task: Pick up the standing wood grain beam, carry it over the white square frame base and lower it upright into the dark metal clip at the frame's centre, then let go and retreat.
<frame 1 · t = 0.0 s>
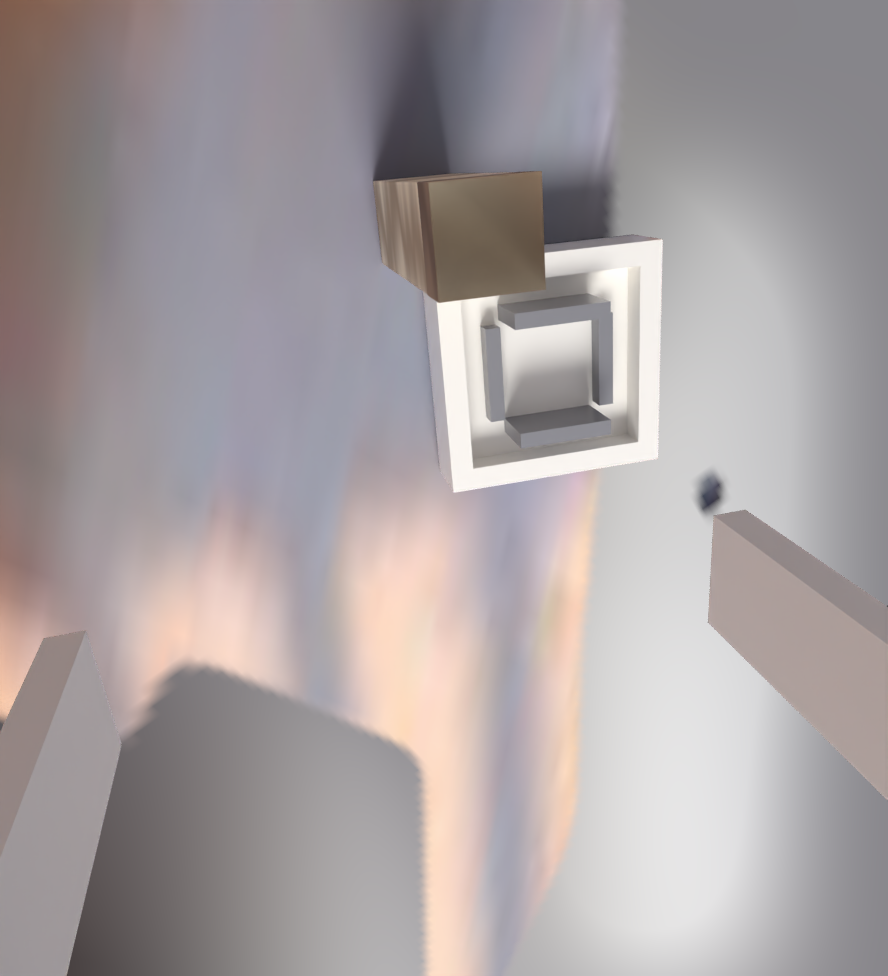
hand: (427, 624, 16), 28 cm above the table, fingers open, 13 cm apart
white square frame: (533, 356, 44), on the table
wood grain beam: (415, 218, 40), on the table
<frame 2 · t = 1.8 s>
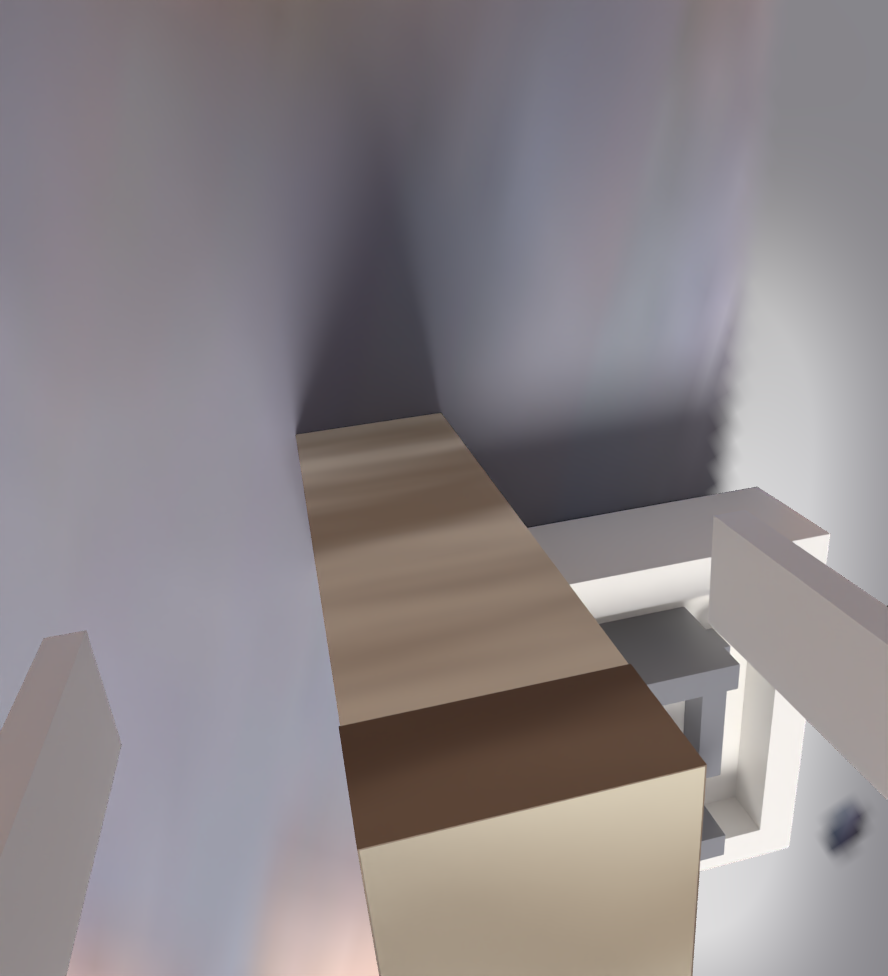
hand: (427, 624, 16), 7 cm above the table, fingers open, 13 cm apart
white square frame: (581, 678, 26), on the table
wood grain beam: (378, 490, 22), on the table
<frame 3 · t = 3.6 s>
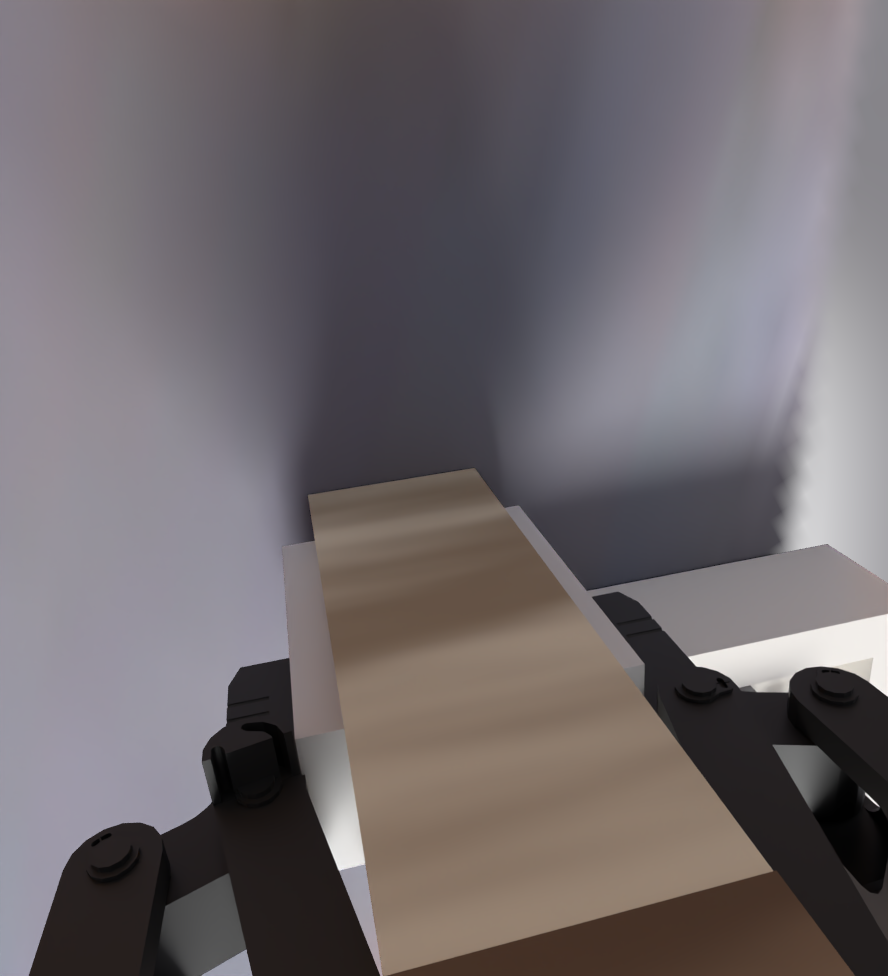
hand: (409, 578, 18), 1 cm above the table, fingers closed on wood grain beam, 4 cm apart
white square frame: (627, 757, 23), on the table
wood grain beam: (401, 556, 19), on the table, touching gripper
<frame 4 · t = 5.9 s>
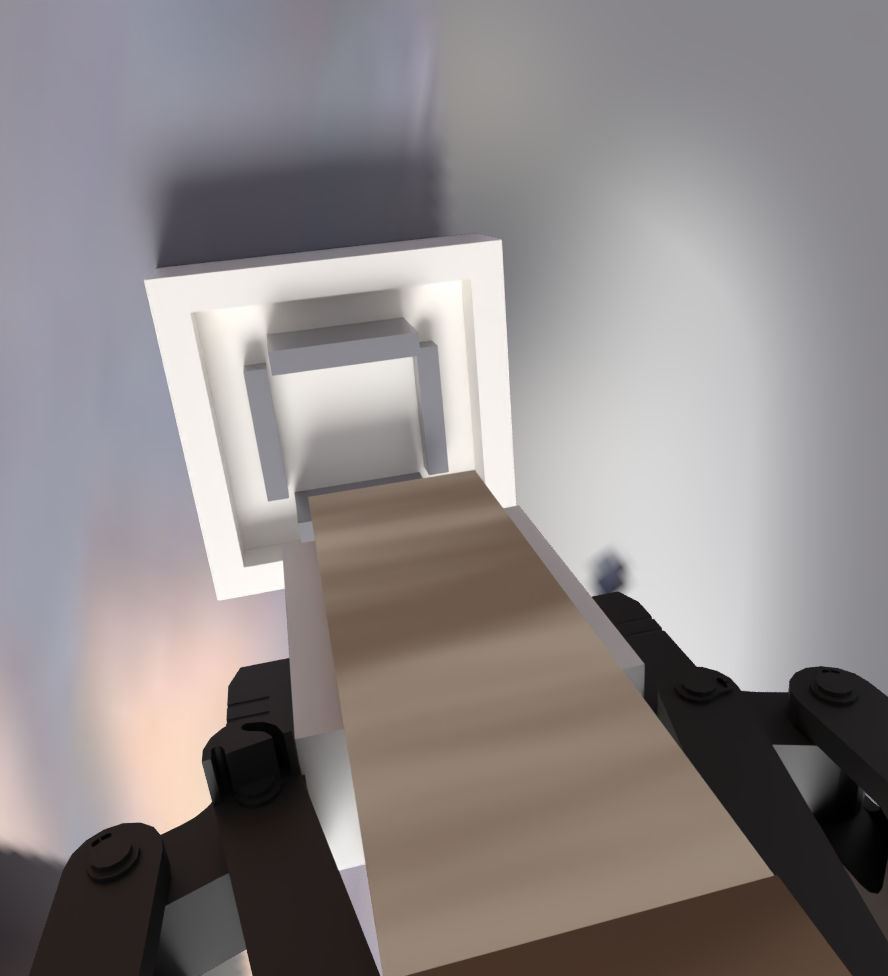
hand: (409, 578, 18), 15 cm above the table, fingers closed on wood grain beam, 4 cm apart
white square frame: (343, 403, 32), on the table
wood grain beam: (401, 557, 19), point 14 cm above the table, touching gripper
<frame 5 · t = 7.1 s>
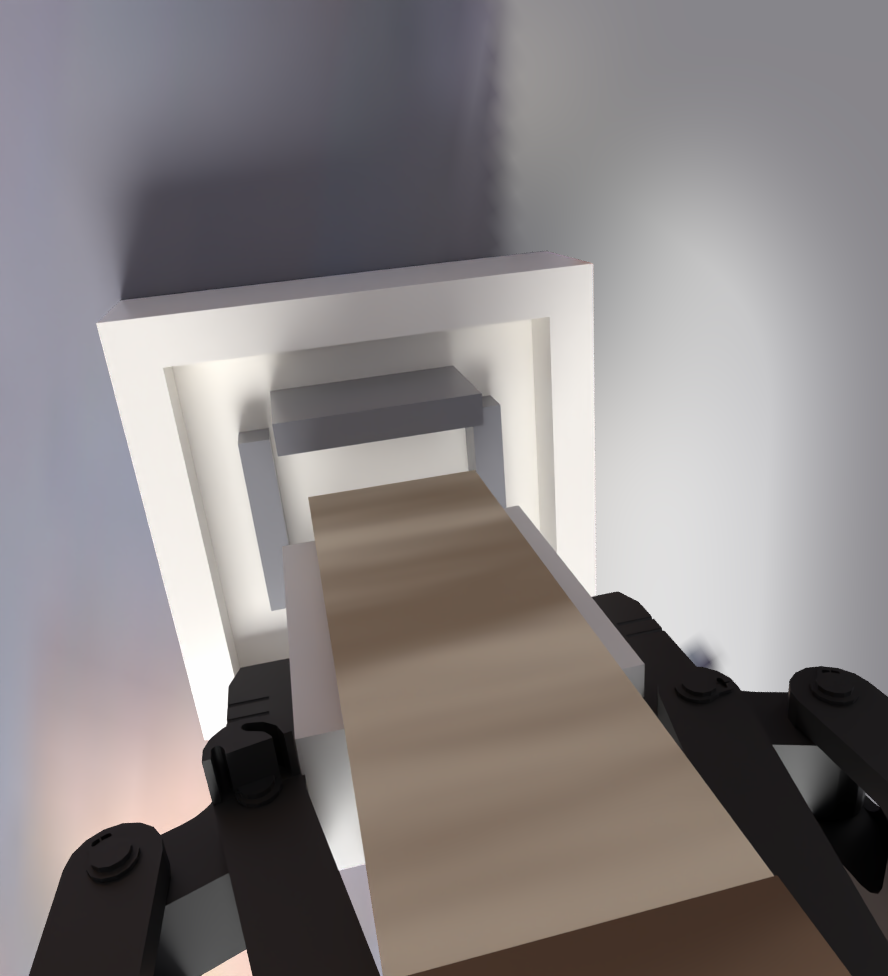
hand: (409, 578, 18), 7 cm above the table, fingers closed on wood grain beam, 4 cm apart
white square frame: (369, 471, 24), on the table
wood grain beam: (401, 558, 19), point 6 cm above the table, touching gripper
when the fingers open (5 cm above the table, at t = 8.2 s): wood grain beam drops 1 cm, resting on white square frame.
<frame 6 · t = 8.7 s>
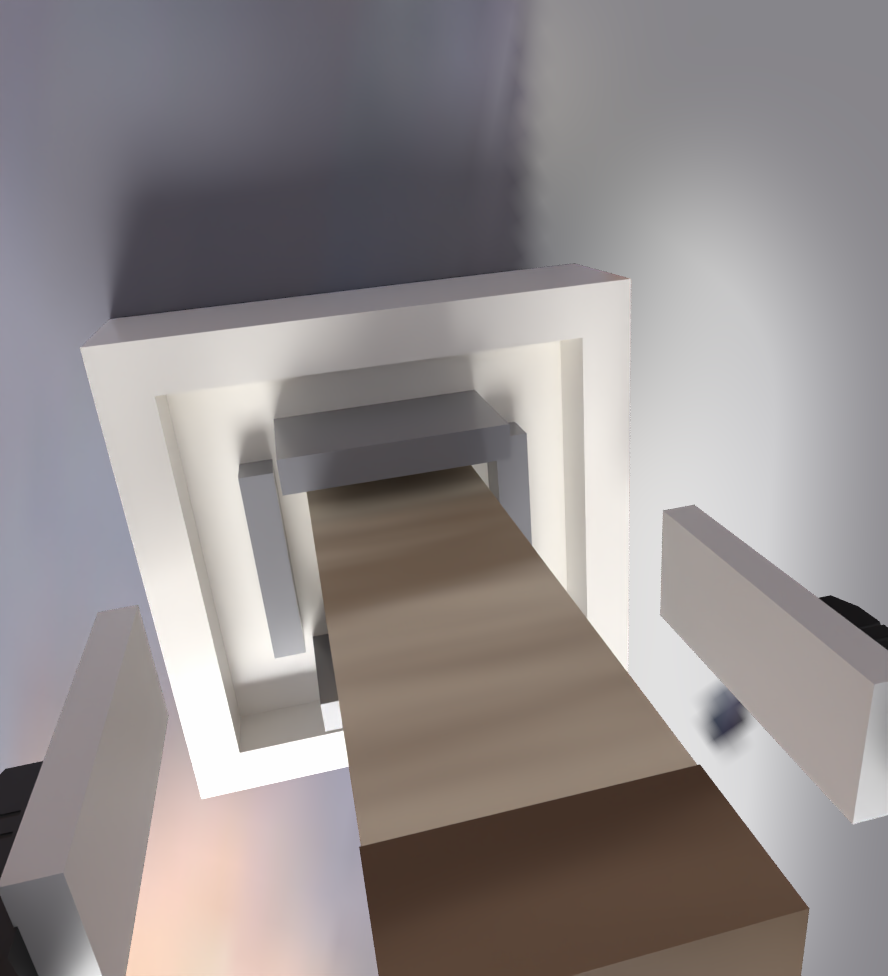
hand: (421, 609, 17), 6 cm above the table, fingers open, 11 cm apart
white square frame: (381, 502, 22), on the table
wood grain beam: (391, 532, 20), point 2 cm above the table, touching white square frame
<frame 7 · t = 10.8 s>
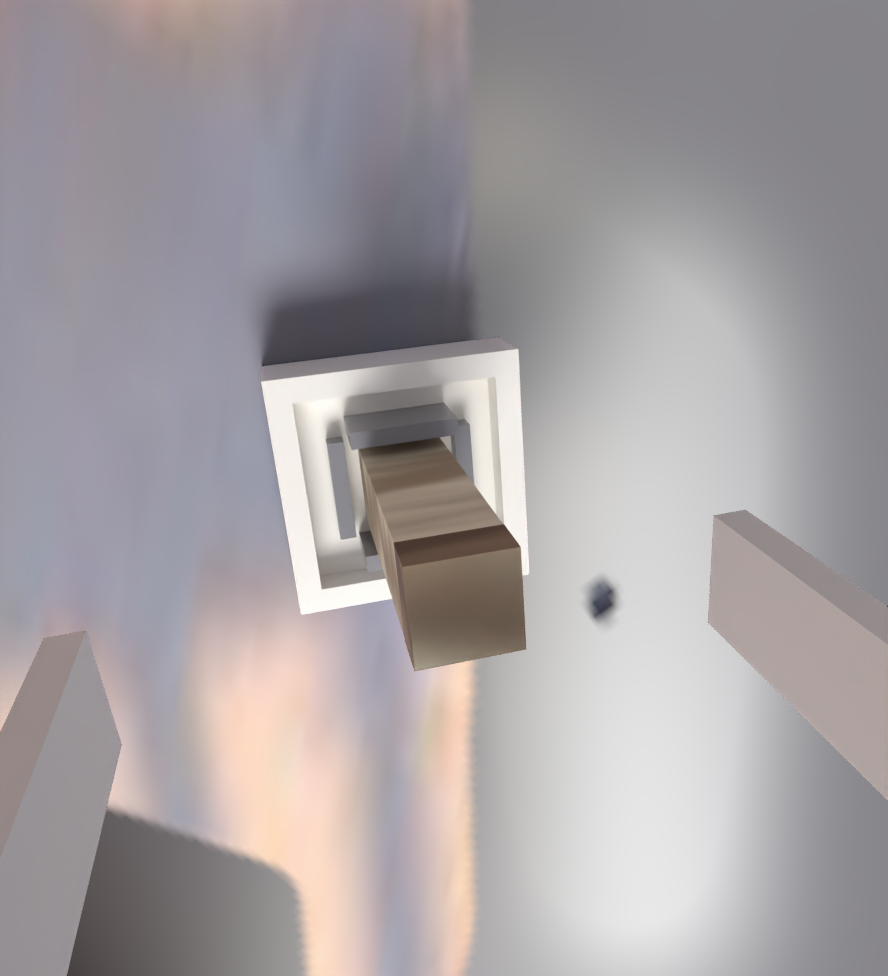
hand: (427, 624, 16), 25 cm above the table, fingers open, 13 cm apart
white square frame: (395, 463, 41), on the table
wood grain beam: (401, 476, 39), point 2 cm above the table, touching white square frame
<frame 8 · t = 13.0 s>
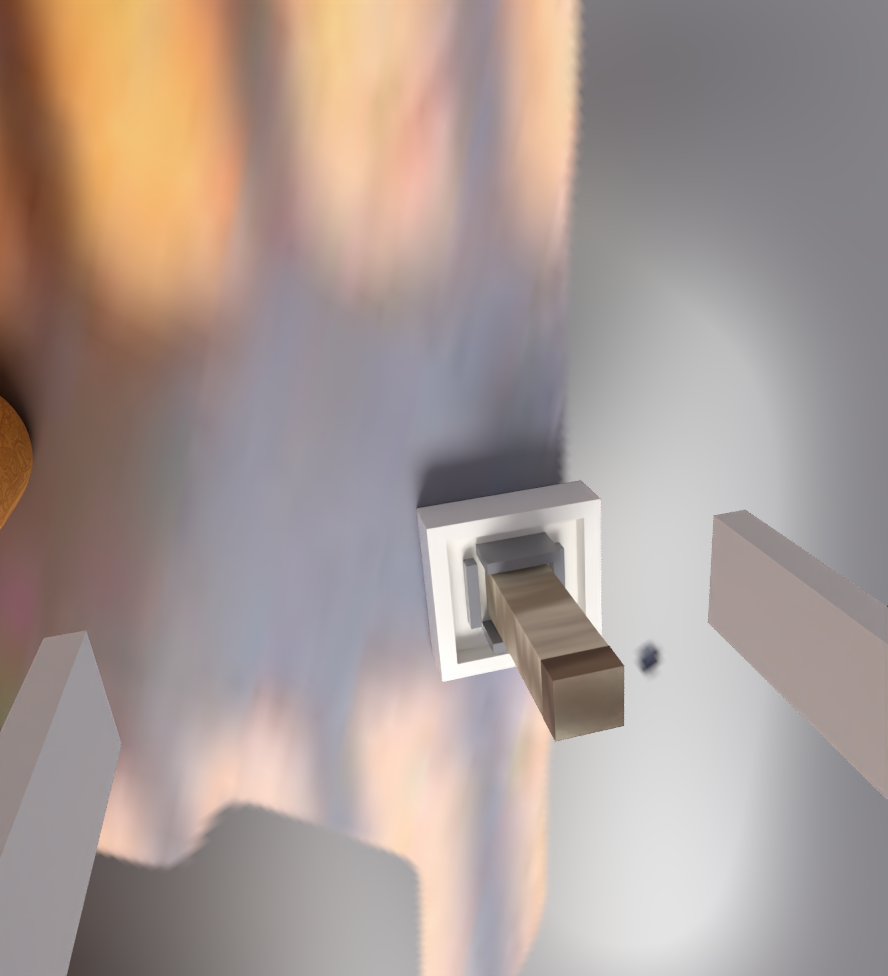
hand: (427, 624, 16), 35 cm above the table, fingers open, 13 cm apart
white square frame: (505, 569, 57), on the table
wood grain beam: (513, 582, 55), point 2 cm above the table, touching white square frame
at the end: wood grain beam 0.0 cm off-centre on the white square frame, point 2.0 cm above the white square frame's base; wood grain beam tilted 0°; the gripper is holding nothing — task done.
